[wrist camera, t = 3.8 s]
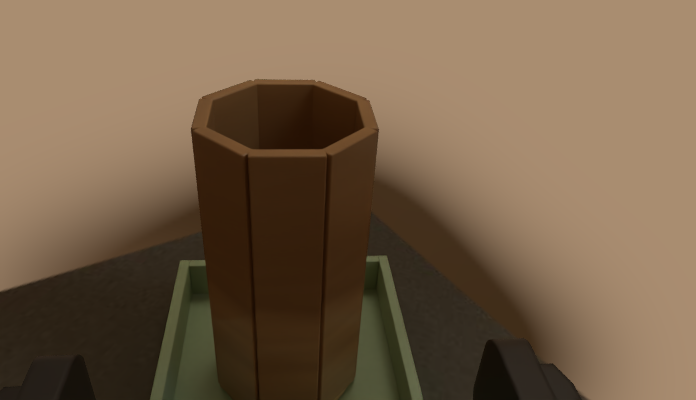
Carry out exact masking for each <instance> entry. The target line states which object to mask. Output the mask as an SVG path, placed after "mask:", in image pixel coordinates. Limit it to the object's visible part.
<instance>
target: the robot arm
mask: <svg viewBox="0 0 696 400" xmlns="http://www.w3.org/2000/svg"><path fill="white" fill-rule="evenodd" d="M0 400H96V399H95V396H94V392H93V389H92V386H91V382H90V379H89V375H88V372H87V368H86V365H85V361H84V358H83V357H82V356H81V355H55V356H38V357H37V358H35V359H34V361H33V362H32V364H31V366H30V368H29V370H28V373H27V375H26V377H25V379H24V381H23V384H22V386H17V387H4V388H3V389H2V390H1V391H0ZM473 400H582V399H581V397H580V396H579V394H578V392H577V390H576V388H575V386H574V384H573V383H572V382H571V381H570V380H569V379H568V378H567V377H566V376H565V375H564V374H563V373H562V372H561V371H560V370H558V368H557V367H556V366H555V365H554V364H540V363H539V361H538V359H537V357H536V355H535V353H534V351H533V349H532V347H531V345H530V344H529V342H528V341H527V340H526V339H524V338H517V339H492V340H488V341H487V343H486V345H485V348H484V352H483V356H482V359H481V363H480V366H479V370H478V374H477V377H476V381H475V385H474V390H473Z"/></svg>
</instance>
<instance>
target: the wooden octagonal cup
mask: <svg viewBox="0 0 696 400" xmlns="http://www.w3.org/2000/svg"><path fill="white" fill-rule="evenodd" d="M378 132H379V129H378V126H377V123H376V120H375V116H374V113H373V110H372V107H371V105H370V101H369V100H366V98H364V97H361V96H359V95H356V94H353V93H351V92H348V91H345V90H342V89H340V88H337V87H334V86H332V85H329V84H326V83H324V82H321V81H318V82H316V81H315V80H267V79H266V80H265V79H264V80H263V79H255V80H254V81H251V80H249V81H246V82H243V83H241V84H237V85H235V86H232V87H229V88H226V89H223V90H220V91H217V92H215V93H212V94H209V95H206V96H203V97H202V99H199V102H198V105H197V109H196V112H195V116H194V120H193V124H192V127H191V134H192V143H193V152H194V162H195V171H196V180H197V190H198V199H199V208H200V216H201V226H202V236H203V245H204V254H205V264H206V273H207V282H208V291H209V301H210V310H211V319H212V328H213V338H214V347H215V356H216V365H217V375H218V383H220V387H221V388H222V389H224V390H225V391H226V392H227V394H228V395H229V396H230V397H231V399H232V400H338V399H339V398H340V397H341V396H342V394H343V393H344V392H345V390H346V388H347V387H348V385H349V384H350V383H351V382H352V381H353V380H354V377H355V376H356V365H357V355H358V344H359V334H360V323H361V312H362V302H363V291H364V281H365V270H366V260H367V249H368V238H369V228H370V217H371V206H372V195H373V185H374V175H375V163H376V154H377V142H378Z"/></svg>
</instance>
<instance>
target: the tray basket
mask: <svg viewBox="0 0 696 400" xmlns="http://www.w3.org/2000/svg"><path fill="white" fill-rule="evenodd" d="M150 400H232V399H231V397H230V396H229V395H228V394H227V392H226V391H225V390H224V389H222V388H221V387H220V383H218V375H217V365H216V356H215V347H214V338H213V328H212V319H211V310H210V301H209V291H208V282H207V273H206V264H205V260H191V261H189V260H182V261H180V264H179V268H178V273H177V278H176V282H175V287H174V291H173V296H172V301H171V305H170V310H169V314H168V319H167V324H166V328H165V333H164V337H163V342H162V346H161V351H160V356H159V360H158V365H157V369H156V374H155V379H154V383H153V388H152V392H151V397H150ZM338 400H423V397H422V393H421V389H420V385H419V381H418V377H417V373H416V369H415V365H414V361H413V357H412V353H411V349H410V345H409V341H408V338H407V334H406V330H405V326H404V322H403V318H402V314H401V310H400V306H399V302H398V298H397V294H396V290H395V286H394V282H393V278H392V275H391V271H390V267H389V263H388V259H387V256H367V260H366V270H365V281H364V291H363V302H362V312H361V323H360V334H359V344H358V355H357V365H356V376H355V377H354V380H353V381H352V382H351V383H350V384H349V385H348V387H347V388H346V390H345V392H344V393H343V394H342V396H341V397H340V398H339V399H338Z"/></svg>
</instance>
